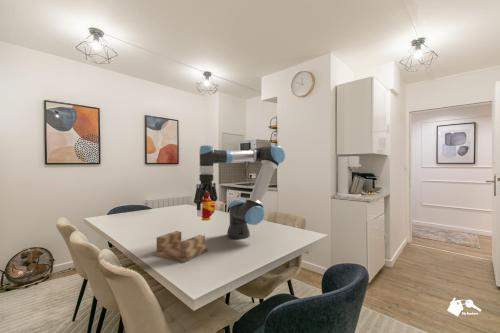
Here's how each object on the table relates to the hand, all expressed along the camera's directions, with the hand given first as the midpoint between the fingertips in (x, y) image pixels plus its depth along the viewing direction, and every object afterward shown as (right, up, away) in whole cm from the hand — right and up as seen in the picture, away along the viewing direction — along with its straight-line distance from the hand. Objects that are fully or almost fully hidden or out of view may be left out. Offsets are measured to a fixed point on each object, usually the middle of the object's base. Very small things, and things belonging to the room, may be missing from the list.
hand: (206, 214), depth 129 cm
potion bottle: (0, -3, 0) cm, 3 cm away
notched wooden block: (-13, -20, -2) cm, 24 cm away
